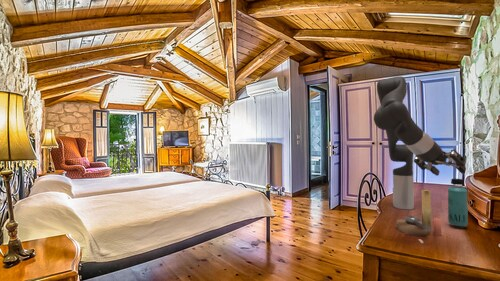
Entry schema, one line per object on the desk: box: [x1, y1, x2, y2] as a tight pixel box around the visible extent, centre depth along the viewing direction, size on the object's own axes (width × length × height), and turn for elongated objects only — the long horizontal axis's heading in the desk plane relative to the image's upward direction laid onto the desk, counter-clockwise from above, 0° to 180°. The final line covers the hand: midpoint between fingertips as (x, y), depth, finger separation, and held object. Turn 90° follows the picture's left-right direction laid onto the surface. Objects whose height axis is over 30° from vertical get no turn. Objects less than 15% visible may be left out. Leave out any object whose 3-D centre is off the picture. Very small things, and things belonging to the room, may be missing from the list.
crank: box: [404, 189, 432, 230], centre depth 98 cm, size 12×5×15 cm, turn 1°
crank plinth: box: [396, 218, 431, 237], centre depth 102 cm, size 11×11×3 cm
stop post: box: [433, 217, 442, 237], centre depth 97 cm, size 2×2×6 cm
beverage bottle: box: [447, 178, 469, 227], centre depth 104 cm, size 6×7×20 cm
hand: (450, 172), depth 92 cm, fingers open, 8 cm apart
